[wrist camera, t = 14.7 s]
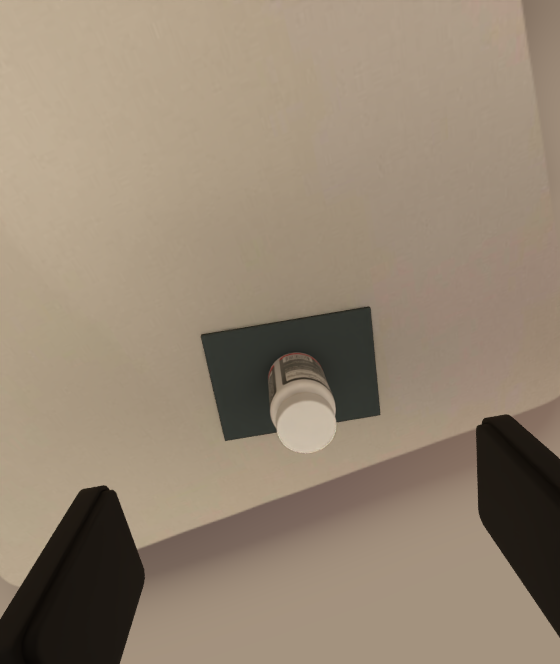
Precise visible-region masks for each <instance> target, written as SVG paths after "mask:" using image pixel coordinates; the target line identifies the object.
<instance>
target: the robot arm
mask: <svg viewBox="0 0 560 664" xmlns="http://www.w3.org/2000/svg"><path fill="white" fill-rule="evenodd" d="M476 438H477V439H476V442H477V478H478V510H479V515H480V518H481V521H482V523H483V525H484V526H485V528H486V530H487V531H488V533H489V534H490V535H491V537H492V538H493V540H494V541H495V543H496V544H497V546H498V547H499V549H500V550H501V552H502V553H503V555H504V556H505V558H506V559H507V560H508V562H509V563H510V565H511V566H512V568H513V569H514V571H515V572H516V574H517V575H518V577H519V578H520V579H521V581H522V583H523V584H524V586H525V587H526V589H527V590H528V591H529V593H530V594H531V596H532V597H533V599H534V600H535V602H536V603H537V605H538V606H539V608H540V609H541V611H542V612H543V613H544V615H545V616H546V618H547V619H548V621H549V622H550V624H551V625H552V627H553V628H554V630H555V631H556V632H557V634H558V635H559V637H560V459H559V458H558V457H557V456H556V455H555V454H554V453H553V452H551V451H550V450H549V449H548V448H547V447H546V446H544V445H543V444H542V443H541V442H540V441H539V440H538V439H537V438H535V437H534V436H533V435H532V434H531V433H530V432H528V431H527V430H526V429H525V428H524V427H522V425H520V424H519V423H518V422H517V421H516V420H515V419H514V418H512V417H511V416H510V415H507V414H505V415H500V416H494V417H488V418H484V419H483V421H482V425H478V426H477V428H476ZM144 576H145V574H144V568H143V565H142V562H141V559H140V557H139V554H138V551H137V548H136V546H135V543H134V540H133V538H132V535H131V532H130V529H129V527H128V524H127V521H126V518H125V516H124V513H123V510H122V508H121V505H120V502H119V499H118V497H117V494H116V492H115V491H114V490H109V488H108V487H107V486H104V485H103V486H98V487H92V488H86V489H82V490H81V491H80V492H79V493H78V495H77V496H76V498H75V499H74V501H73V503H72V504H71V506H70V507H69V509H68V511H67V512H66V514H65V516H64V517H63V519H62V520H61V522H60V524H59V525H58V527H57V528H56V530H55V532H54V533H53V535H52V537H51V538H50V540H49V541H48V543H47V545H46V546H45V548H44V549H43V551H42V553H41V554H40V556H39V558H38V559H37V561H36V562H35V564H34V566H33V567H32V569H31V570H30V572H29V574H28V575H27V577H26V578H25V580H24V582H23V583H22V585H21V587H20V588H19V590H18V591H17V593H16V595H15V596H14V598H13V599H12V601H11V603H10V604H9V606H8V608H7V609H6V611H5V612H4V614H3V616H2V617H1V619H0V664H120V661H121V657H122V654H123V651H124V648H125V644H126V641H127V638H128V635H129V631H130V628H131V625H132V621H133V618H134V615H135V611H136V608H137V605H138V602H139V598H140V595H141V592H142V589H143V585H144V579H145V577H144Z"/></svg>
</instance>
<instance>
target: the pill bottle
mask: <svg viewBox="0 0 560 664" xmlns="http://www.w3.org/2000/svg"><path fill="white" fill-rule="evenodd" d="M268 387H269V403H270V415H271V419H272V422H273V424H274V426H275V427H276V429H277V434H278V437H279V439H280V441H281V442H282V444H283V445H284V446H286V447H287V448H288V449H290V450H292V451H294V452H298V453H313V452H316V451H319V450H321V449H323V448H324V447H326V446H327V445H328V444H329V443H330V442H331V441H332V439H333V437H334V435H335V432H336V427H337V425H336V418H335V413H336V407H335V401H334V397H333V395H332V393H331V390H330V388H329V385H328V383H327V380H326V378H325V375H324V372H323V370H322V368H321V366H320V364H319V363H318V362H317V361H316V360H315V359H314V358H313V357H312V356H310V355H308V354H305V353H299V352H294V353H288V354H286V355H284V356H282V357H280V358H279V359H277V360H276V361H275V362H274V364H273V365H272V367H271V369H270V371H269V375H268Z"/></svg>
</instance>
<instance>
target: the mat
mask: <svg viewBox="0 0 560 664" xmlns="http://www.w3.org/2000/svg"><path fill="white" fill-rule="evenodd" d="M201 339H202V343H203V348H204V352H205V356H206V361H207V365H208V369H209V373H210V378H211V382H212V386H213V391H214V395H215V399H216V403H217V408H218V412H219V416H220V421H221V425H222V429H223V434H224V438H225V441H228V440H234V439H240V438H246V437H252V436H258V435H264V434H270V433H276V432H277V429H276V427H275V426H274V424H273V422H272V419H271V415H270V403H269V387H268V375H269V371H270V369H271V367H272V365H273V364H274V362H275V361H276V360H277V359H279V358H280V357H282V356H284V355H286V354H288V353H294V352H299V353H305V354H308V355H310V356H312V357H313V358H314V359H315V360H316V361H317V362H318V363H319V364H320V366H321V368H322V370H323V372H324V375H325V378H326V380H327V383H328V385H329V388H330V390H331V393H332V395H333V397H334V401H335V407H336V413H335V418H336V422H341V421H347V420H353V419H359V418H365V417H371V416H377V415H380V406H379V395H378V384H377V374H376V363H375V352H374V341H373V330H372V320H371V309H370V307H364V308H358V309H352V310H346V311H340V312H335V313H329V314H323V315H317V316H311V317H305V318H299V319H293V320H287V321H281V322H275V323H269V324H263V325H257V326H251V327H245V328H239V329H233V330H227V331H221V332H215V333H209V334H203V335H201Z"/></svg>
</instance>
